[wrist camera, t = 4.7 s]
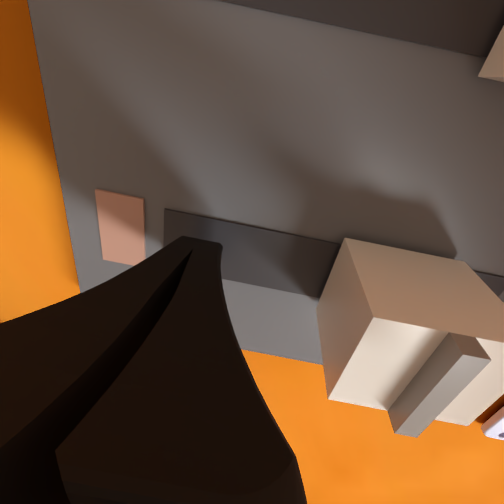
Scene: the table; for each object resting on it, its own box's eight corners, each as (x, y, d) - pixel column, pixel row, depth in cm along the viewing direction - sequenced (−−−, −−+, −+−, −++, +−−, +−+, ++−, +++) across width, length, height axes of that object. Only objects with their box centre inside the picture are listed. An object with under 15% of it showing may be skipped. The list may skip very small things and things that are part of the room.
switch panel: (908, -117, 6) (1055, -161, 5) (462, 371, 14) (477, 396, 13) (12, -324, 6) (-54, -421, 4) (99, 300, 14) (83, 320, 13)
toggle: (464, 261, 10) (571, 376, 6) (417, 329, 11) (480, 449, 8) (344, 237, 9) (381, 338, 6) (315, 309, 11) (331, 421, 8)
